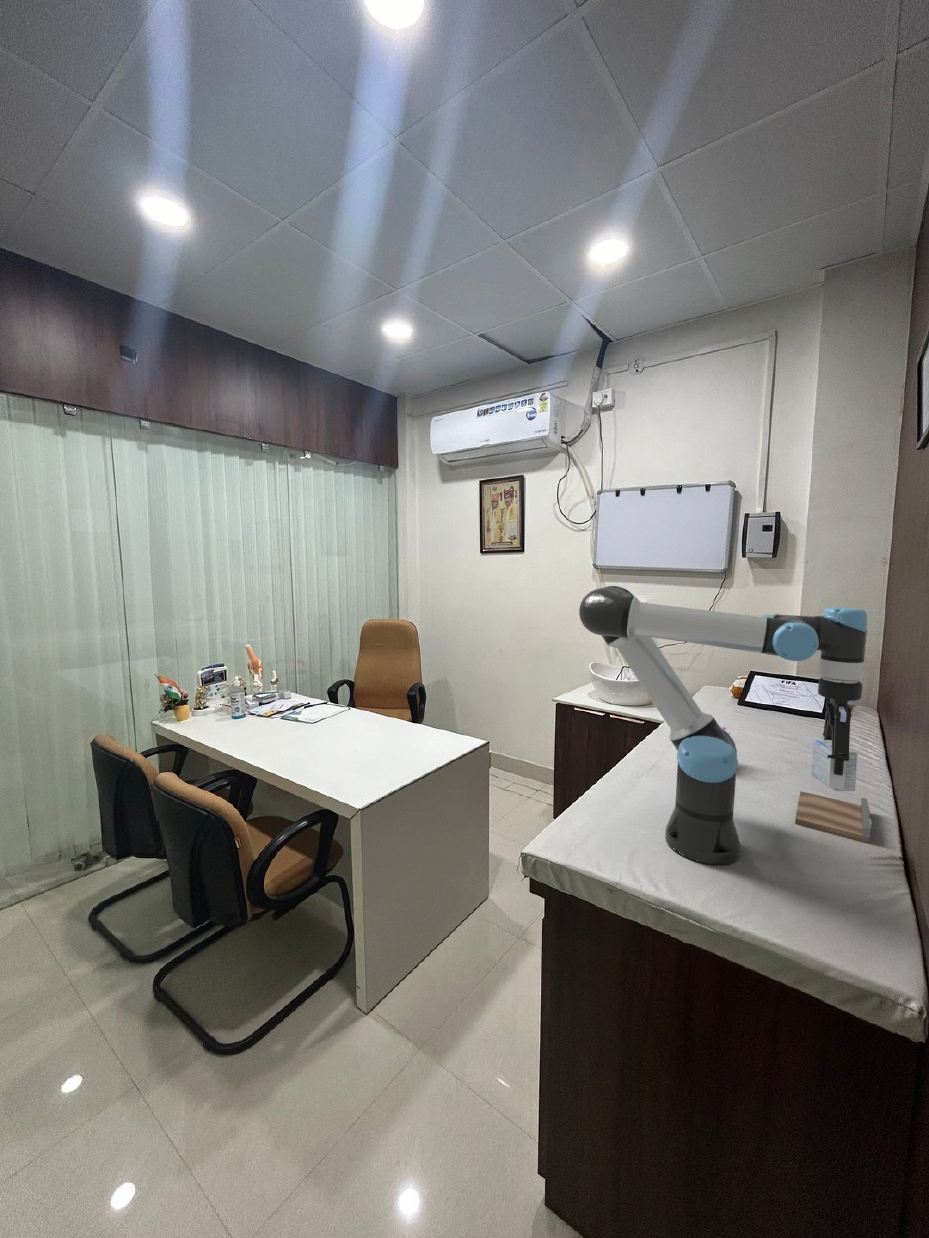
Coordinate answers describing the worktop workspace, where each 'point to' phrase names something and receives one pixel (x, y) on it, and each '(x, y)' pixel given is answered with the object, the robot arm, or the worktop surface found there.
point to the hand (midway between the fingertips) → (832, 779)
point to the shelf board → (834, 816)
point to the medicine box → (822, 764)
